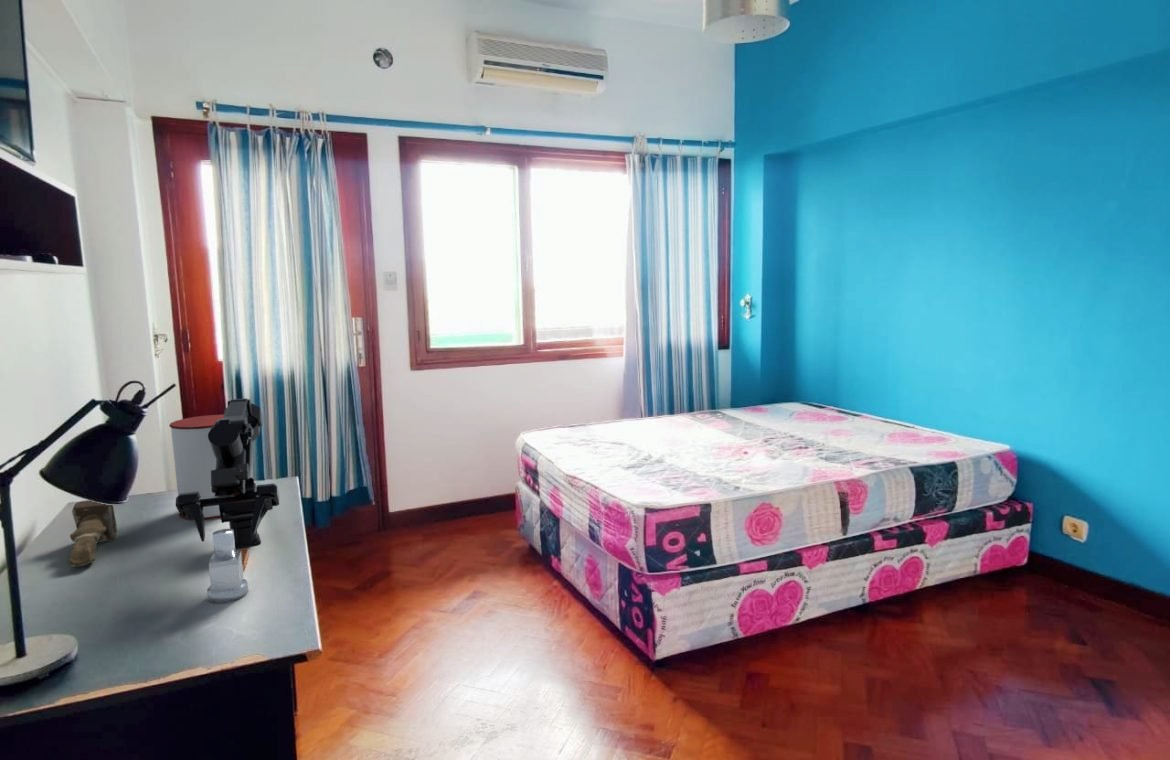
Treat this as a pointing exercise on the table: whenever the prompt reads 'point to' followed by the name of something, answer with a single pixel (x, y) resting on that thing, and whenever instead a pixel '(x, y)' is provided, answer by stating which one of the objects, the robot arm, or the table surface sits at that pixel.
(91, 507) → the brown boot
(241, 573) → the clear square perfume bottle
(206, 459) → the container
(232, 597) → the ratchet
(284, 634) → the table surface
